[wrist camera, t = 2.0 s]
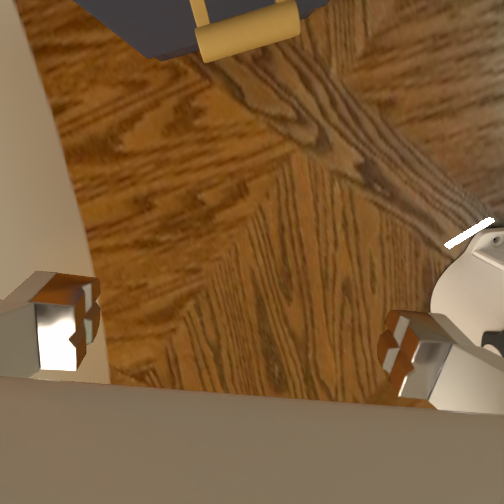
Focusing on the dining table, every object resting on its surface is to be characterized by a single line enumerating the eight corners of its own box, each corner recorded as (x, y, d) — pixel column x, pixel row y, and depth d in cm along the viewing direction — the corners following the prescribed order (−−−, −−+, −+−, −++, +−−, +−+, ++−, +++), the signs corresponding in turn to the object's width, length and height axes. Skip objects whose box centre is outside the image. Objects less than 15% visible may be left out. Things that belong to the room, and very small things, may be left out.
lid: (60, -23, 16) (100, 85, 17) (398, -131, 15) (412, -8, 16) (144, 48, 29) (162, 105, 31) (323, -7, 29) (334, 55, 30)
